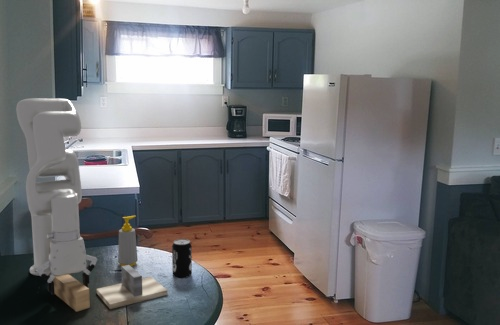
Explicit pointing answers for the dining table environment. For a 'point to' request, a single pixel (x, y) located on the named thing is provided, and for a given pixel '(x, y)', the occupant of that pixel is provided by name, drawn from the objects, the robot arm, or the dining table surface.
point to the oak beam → (72, 292)
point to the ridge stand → (131, 289)
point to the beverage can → (182, 258)
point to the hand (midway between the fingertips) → (69, 289)
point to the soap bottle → (127, 244)
